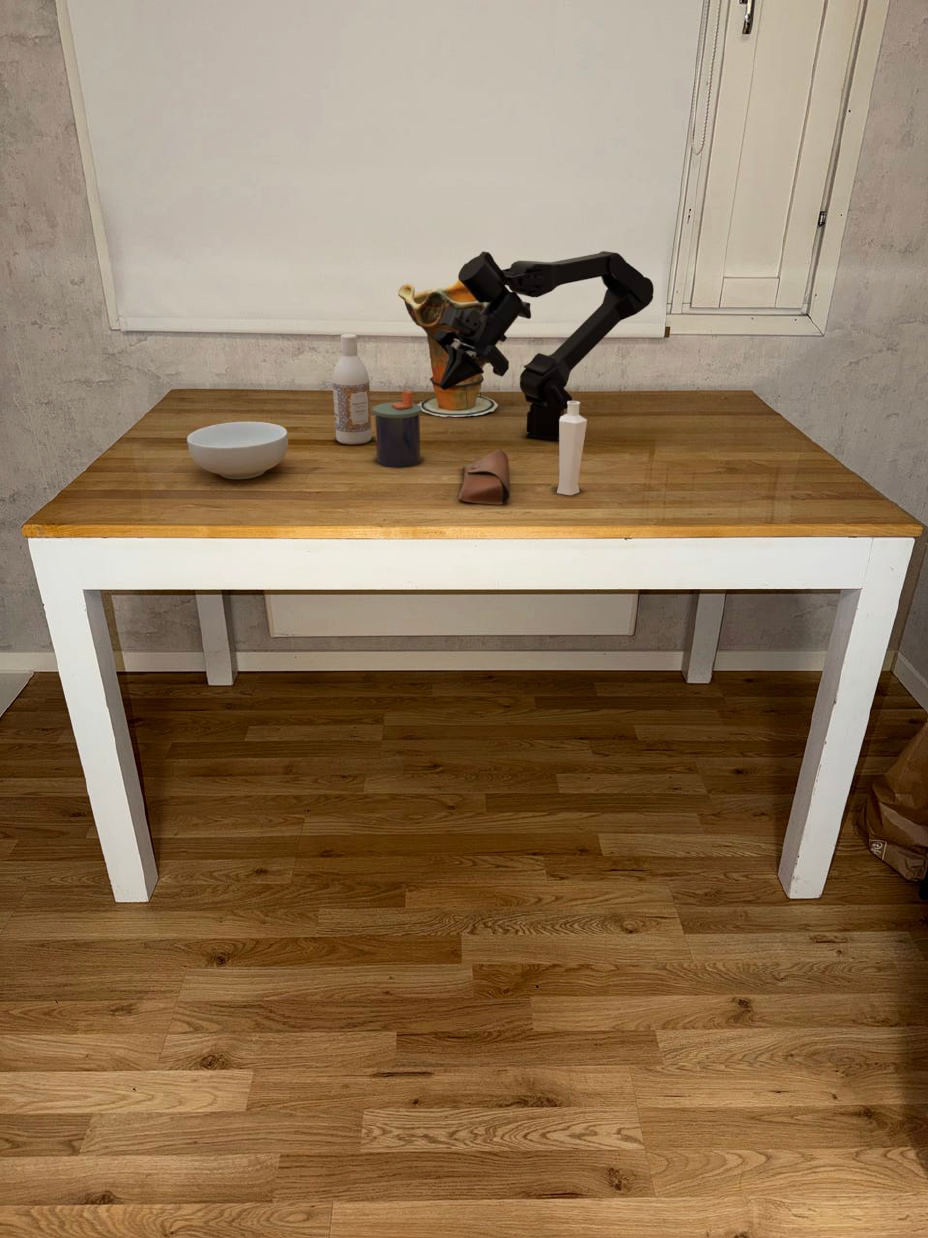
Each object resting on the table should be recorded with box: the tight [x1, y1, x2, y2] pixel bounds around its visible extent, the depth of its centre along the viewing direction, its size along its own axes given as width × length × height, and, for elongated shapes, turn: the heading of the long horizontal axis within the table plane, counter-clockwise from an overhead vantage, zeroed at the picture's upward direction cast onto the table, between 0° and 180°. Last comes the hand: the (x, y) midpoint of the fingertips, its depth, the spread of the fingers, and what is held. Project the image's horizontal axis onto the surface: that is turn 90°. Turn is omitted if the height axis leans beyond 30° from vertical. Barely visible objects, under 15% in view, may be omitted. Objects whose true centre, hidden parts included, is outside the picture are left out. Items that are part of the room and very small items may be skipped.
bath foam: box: [332, 333, 372, 446], centre depth 165 cm, size 7×7×20 cm
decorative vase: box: [397, 278, 499, 418], centre depth 186 cm, size 21×23×28 cm
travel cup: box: [372, 401, 422, 468], centre depth 157 cm, size 9×9×10 cm
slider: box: [391, 389, 413, 410], centre depth 154 cm, size 3×3×3 cm
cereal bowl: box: [186, 421, 289, 480], centre depth 151 cm, size 17×17×7 cm
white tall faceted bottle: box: [556, 400, 588, 496], centre depth 142 cm, size 5×4×15 cm
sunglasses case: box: [458, 448, 511, 506], centre depth 146 cm, size 18×7×7 cm
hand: (441, 388), depth 157 cm, fingers closed
